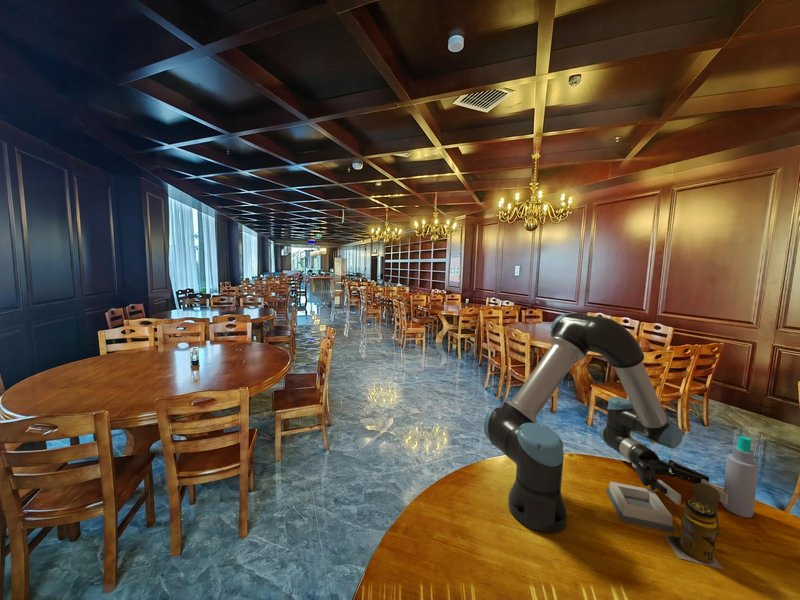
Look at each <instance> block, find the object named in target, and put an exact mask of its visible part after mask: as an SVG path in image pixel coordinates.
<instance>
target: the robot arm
mask: <svg viewBox="0 0 800 600" xmlns="http://www.w3.org/2000/svg"><path fill="white" fill-rule="evenodd" d="M550 329H551V330H550V332H549V333H550V336H551V337H550V339H549V340H550V344H551V345H550V347H549V348H548V350H547V351H546V352H545V354H544V355H543V357H541V360H540V361H539V362H538V364H536V366H535V368H534V369H533V371H532V372H531V373H530V375H529V376H528V377H527V379H526V381H525V382H524V383H523V385H522V386H521V387H520V389H519V390H518V391H517V393H516V394H515V396H514V397H513V399H511V400H507V401H504V402H503V404H502V405H501V406H496V407H492V408H491V409H490V410H488V412H487V413H486V414H485V416H484V419H483V425H482V426H483V432H484V435H485V437H486V438H487V440H489V442H490V443H491V445H493V446H494V447H495V448H497V449H498V450H499V451H501V452H502V454H504V455H505V456H506V457H507V458H508V459H510V460H511V461H512V462H513V463H514V464H515V466H516V467H515V468H516V469H515V470H516V472H515V481H514V482H513V484H512V487H511V489H510V491H509V492H508V493H509V494H508V498H507V499H508V500H507V501H508V504H507V506H508V509H509V511H510V514H511V515H512V514H513V515H512V516H513V517H514V518H515V520H517V519H518V520H519V521H520V522H521V523H520V522H519V521H518V520H517V521H518V522H519V523H520V524H522V523H523V524H522V525H523V526H524V527H526V526H527V528H528V529H530V530H533V531H535V532H539V533H544V534H557V533H558V532H561V531H563V530H564V529H565V528H566V526H567V517H568V514H567V509H566V504H565V503H564V502H565V501H564V498H563V495H562V482H563V481H562V480H563V468H564V467H563V466H564V460H565V457H564V455H565V453H564V444H563V440H562V438H561V437H560V436H559V434H558V433H556V432H555V431H554V430H553V429H551V428H549V427H547V426H546V425H540V423H538V421H537V417H538V416H539V414H540V413H541V412H542V410H543V408H544V407H545V405H546V404H547V402H548V401H549V400H550V398H551V397H552V396H553V394H554V393H555V391H556V390H557V388H558V387H559V385H560V384H561V382H562V381H563V380H564V378H565V377H566V375H567V374H568V373H569V371H570V369H571V368H572V366H573V365H574V363H575V362H576V361H577V360H578V361H579V360H583V359H584V358H586V356H587V354H588V352H591V353H597V354H599V355H600V356H602V357H603V358H605V360H606V361H607V364H608V365H609V366H610V367H613V368H614V370H615V373H616V374H617V376H618V377H617V378H618V379H619V381H620V383H621V385H622V387H623V390H624V392H625V394H626V396H627V398H628V399H627V398H624V397H618V396H614V397H612V396H611V397H610V398H609V399H608V405H607V411H606V412H607V413H606V414H607V415H606V423H605V424H603V425H601V427H600V429H599V430H598V435H599V438H600V439H601V440H602V441H603V442H604V443H605V444H606V446H608V447H609V448H611V449H613V450H614V451H616V452H617V453H618V454H620V456H622V457H624V458H625V459H627V461H629V462H630V463H631V468H632V469H633V470H634V471H635V472H636V474H637V476H638V478H639V480H640V482H641V483H642V485H643V486H645V487H648V486H649V489H652V490H653V491H656V490H657V491H658V492H660V493H661V494H663V495H665V496H666V497H667V498H668V499H669V500H671V501H672V502H674V503H675V504H676V505H678V506H681V502H682V494H680V493H679V492H677V491H676V490H674V489H673V488H672V487H671V486H669V485H668V484H666V483H665V482H664V481H663V480H661V479H657V475H658V476H662V475H663V476H668V477H670V478H678V479H681V480H684V481H686V482H688V483H690V484H691V483H692V484H693V485H695V484H696V483H703V484H707V485H709V486H711V487H713V488H715V489H716V490H717V491H718V492H719V494H720V500H719V502H721V504H722V503H724V504H727V503H728V494H726V493H725V492H723V491H724V490H721V489H720V488H718V487H717V486H715V485H714V484H712V483H711V482H710V477H709V476H708V475H706V474H703V473H701V472H699V471H696V470H694V469H691V468H689V467H687V466H685V465H682V464H680V463H678V462H676V461H674V460H672V459H668V461H667V462H666V461H664V460H662V459H660V457H659V456H658V454H657V453H656V452H655V451H654V450H652V449H650V447H648V446H646V445H645V444H643V443H641V441H639V440H637V439H635V438H634V437H632V436H631V435H632V434H631V433H632V432H633V433H636V434H638V435H640V436H642V437H644V438H646V439H649V441H652V442H655V443H657V444H658V445H661V446H663V447H667V448H668V449H676V448H678V447H679V446H680V444H681V443H682V441H683V438H684V436H683V430H682V429H681V428H680V427H679V426H676V425H675V424H673V423H671V422H669V420H668V418H667V416H666V413H665V411H664V409H663V407H662V404H661V403H660V402H661V401H660V400H659V397H658V395H657V393H656V390H655V387H654V386H653V383H652V381H651V379H650V376H649V374H648V371H647V369H646V367H645V364H644V360H645V354H644V352H643V349H642V347H641V345H640V343H639V342H638V341H637V339H636V338H635V337H634V336H633V334H632V333H631V332H630V331H629V330H628V329H627V328H626V327H624V325H622V324H621V323H619V322H618V321H616V320H614V319H613V318H612V319H611V318H608V317H604V316H596V315H595V316H594V315H586V314H582V313H577V312H574V313H573V312H569V313H568V312H566V313H562V314H560V315H558V316H557V317H556V318H555V319H554V320H553V321H552V323H551V326H550ZM641 465H643V466H641ZM670 470H671V472H670ZM646 472H648V473H649V476H648V475H647V473H646ZM671 473H674V474H671ZM681 476H682V477H681ZM688 478H689V479H688Z"/></svg>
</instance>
